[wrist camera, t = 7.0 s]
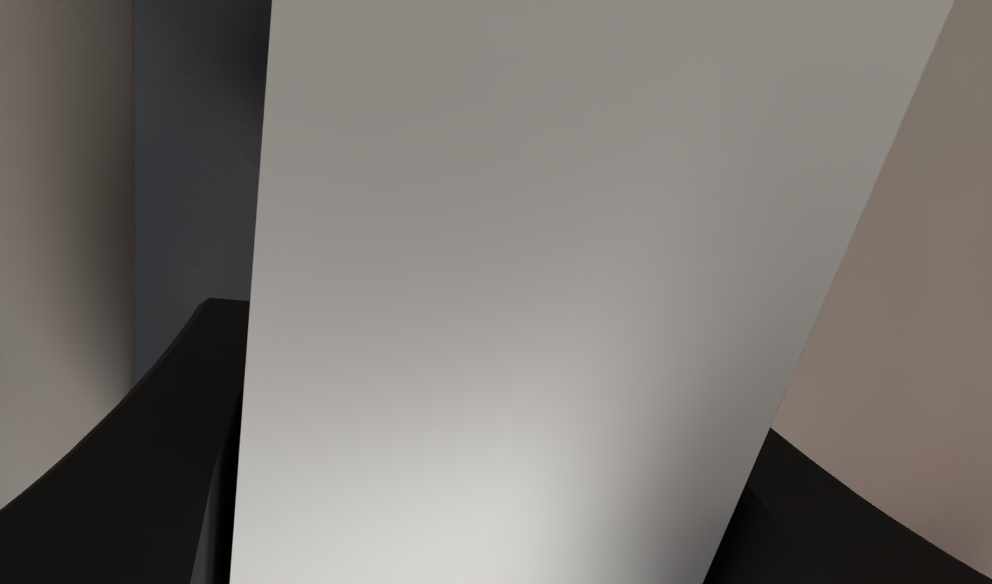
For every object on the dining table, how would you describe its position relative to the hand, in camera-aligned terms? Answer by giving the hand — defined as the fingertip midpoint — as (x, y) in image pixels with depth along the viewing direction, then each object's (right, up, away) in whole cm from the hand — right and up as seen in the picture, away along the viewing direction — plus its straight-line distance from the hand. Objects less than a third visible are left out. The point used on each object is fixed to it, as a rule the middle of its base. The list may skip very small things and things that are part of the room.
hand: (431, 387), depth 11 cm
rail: (0, +1, +1) cm, 2 cm away
